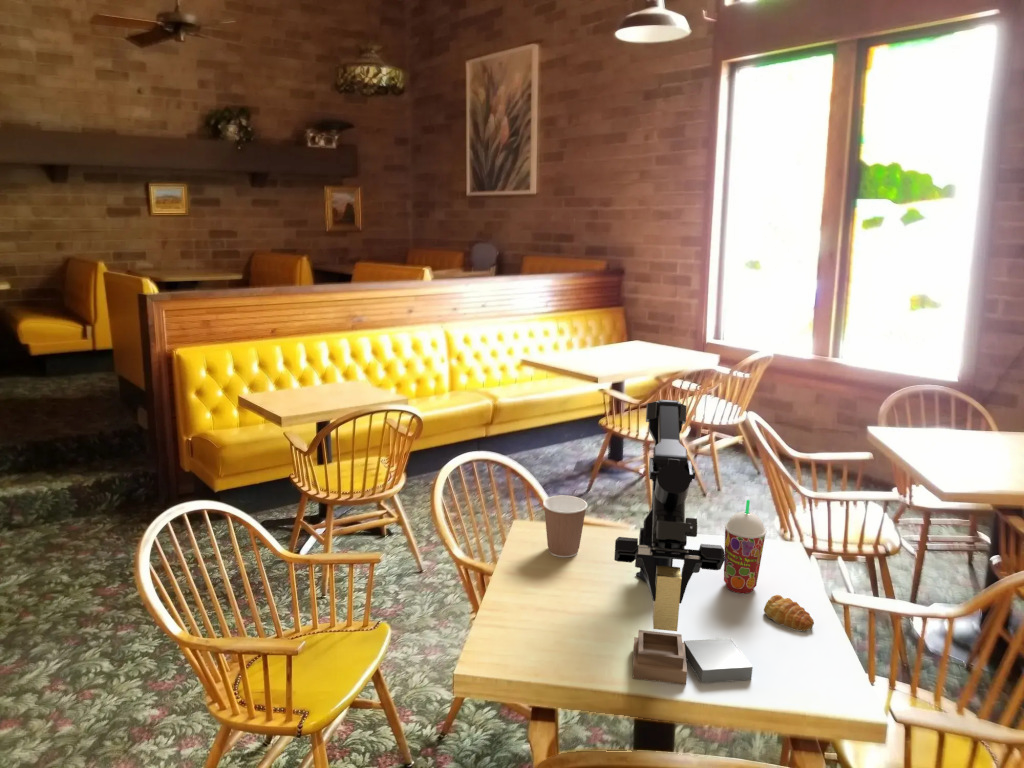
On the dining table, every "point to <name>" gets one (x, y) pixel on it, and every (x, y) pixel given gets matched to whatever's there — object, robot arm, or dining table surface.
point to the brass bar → (667, 598)
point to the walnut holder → (659, 657)
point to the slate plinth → (717, 660)
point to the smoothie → (743, 551)
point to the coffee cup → (564, 524)
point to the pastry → (788, 613)
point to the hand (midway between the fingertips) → (667, 601)
